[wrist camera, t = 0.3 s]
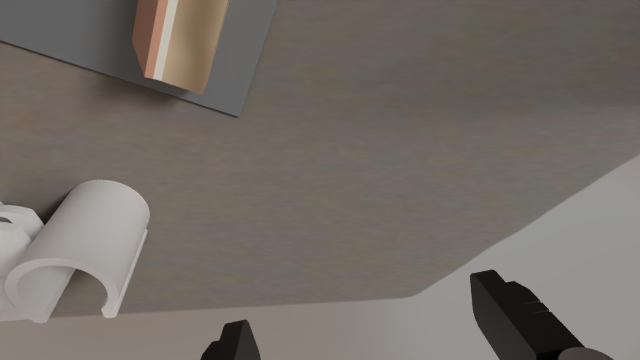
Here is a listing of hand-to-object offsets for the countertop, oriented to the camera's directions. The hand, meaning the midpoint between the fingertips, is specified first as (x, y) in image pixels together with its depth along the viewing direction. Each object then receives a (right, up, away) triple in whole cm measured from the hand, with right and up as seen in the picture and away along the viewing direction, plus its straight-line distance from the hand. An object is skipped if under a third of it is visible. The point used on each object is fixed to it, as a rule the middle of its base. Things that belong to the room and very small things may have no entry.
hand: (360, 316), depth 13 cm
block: (-12, +20, +19) cm, 31 cm away
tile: (-14, +19, +15) cm, 28 cm away
